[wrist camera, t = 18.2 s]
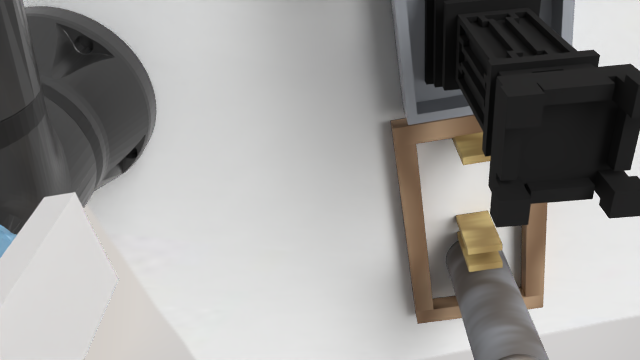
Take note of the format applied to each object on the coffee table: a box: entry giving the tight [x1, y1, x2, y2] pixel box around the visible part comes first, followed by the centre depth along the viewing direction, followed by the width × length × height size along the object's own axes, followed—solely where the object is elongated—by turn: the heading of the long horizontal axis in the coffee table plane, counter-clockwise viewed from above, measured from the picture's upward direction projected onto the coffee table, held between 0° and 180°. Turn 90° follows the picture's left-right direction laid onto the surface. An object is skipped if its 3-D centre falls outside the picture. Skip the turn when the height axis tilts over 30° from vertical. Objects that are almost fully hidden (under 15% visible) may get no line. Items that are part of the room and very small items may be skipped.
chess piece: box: [425, 0, 640, 227], centre depth 35 cm, size 8×8×20 cm
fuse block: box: [391, 114, 549, 360], centre depth 48 cm, size 13×24×15 cm, turn 10°
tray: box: [391, 0, 575, 125], centre depth 43 cm, size 13×13×3 cm
